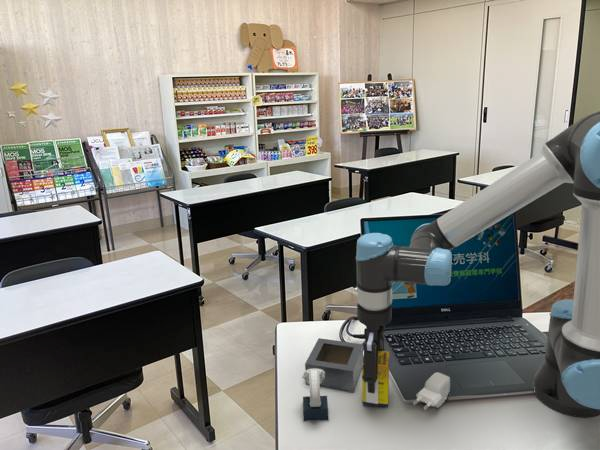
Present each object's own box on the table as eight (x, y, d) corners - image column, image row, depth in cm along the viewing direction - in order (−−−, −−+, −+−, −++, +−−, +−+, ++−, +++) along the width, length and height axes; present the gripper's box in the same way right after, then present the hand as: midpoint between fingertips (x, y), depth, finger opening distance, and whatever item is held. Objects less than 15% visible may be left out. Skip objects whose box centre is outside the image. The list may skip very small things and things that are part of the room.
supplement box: (388, 407, 107) (388, 366, 104) (362, 404, 109) (361, 364, 105) (389, 390, 113) (389, 350, 110) (364, 388, 114) (363, 349, 111)
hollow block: (363, 364, 124) (363, 344, 122) (353, 392, 114) (353, 371, 112) (319, 357, 128) (318, 338, 126) (306, 384, 117) (305, 363, 115)
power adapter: (428, 424, 102) (429, 401, 101) (408, 414, 106) (409, 392, 104) (452, 398, 110) (453, 376, 108) (433, 389, 113) (434, 368, 112)
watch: (326, 401, 111) (325, 361, 108) (328, 425, 103) (327, 383, 100) (303, 402, 111) (301, 361, 108) (303, 426, 103) (301, 384, 100)
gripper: (365, 283, 113) (366, 366, 120) (347, 323, 96) (350, 417, 103) (397, 286, 111) (396, 370, 118) (384, 327, 94) (384, 423, 101)
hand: (374, 392), depth 110 cm, fingers closed on supplement box, 6 cm apart
